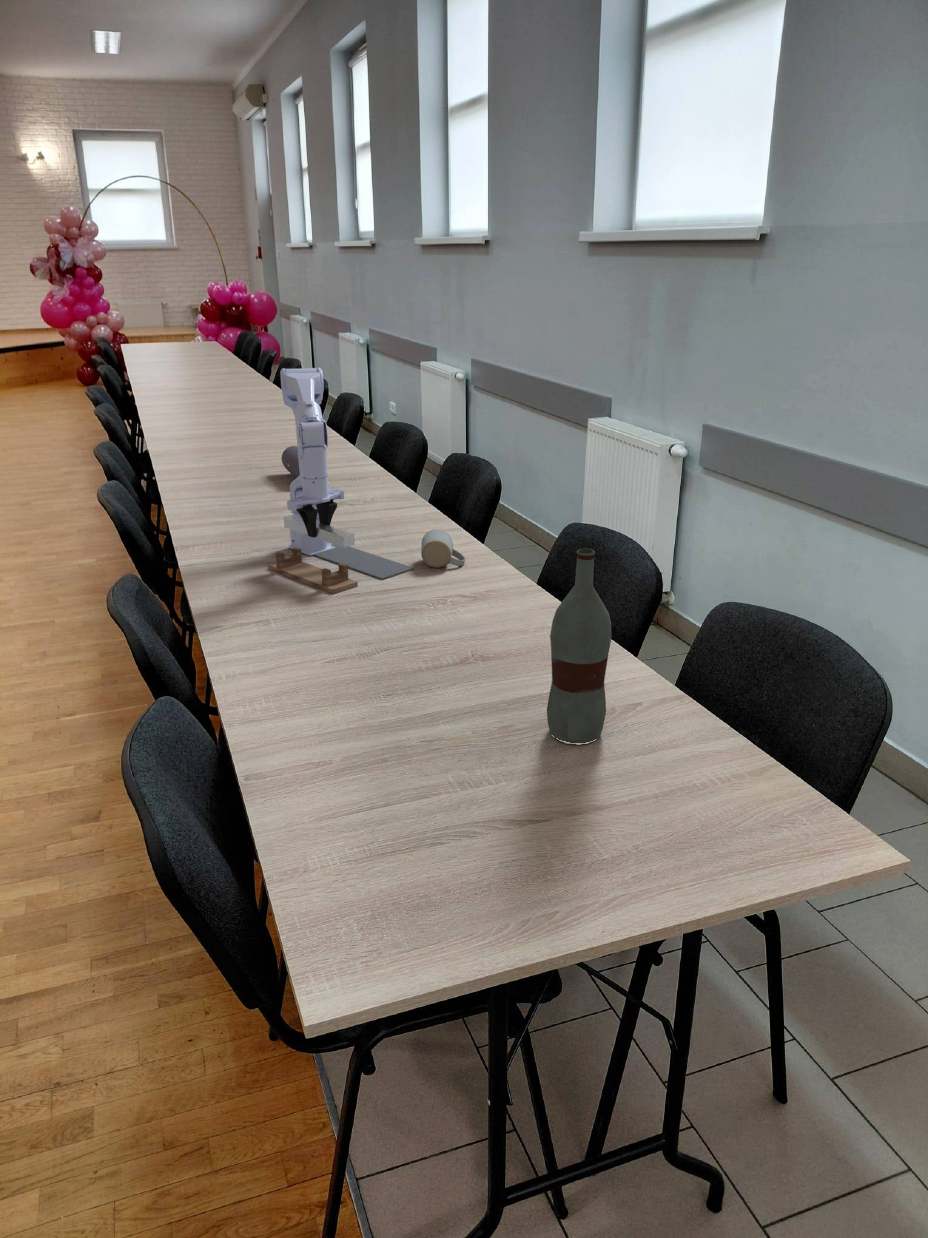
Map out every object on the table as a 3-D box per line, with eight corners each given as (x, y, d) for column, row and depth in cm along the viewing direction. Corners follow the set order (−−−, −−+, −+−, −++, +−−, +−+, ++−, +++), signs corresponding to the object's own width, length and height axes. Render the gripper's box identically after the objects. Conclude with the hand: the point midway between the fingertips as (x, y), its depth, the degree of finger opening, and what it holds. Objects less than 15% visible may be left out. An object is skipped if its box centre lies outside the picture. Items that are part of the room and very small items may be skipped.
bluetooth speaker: (280, 475, 299) (278, 445, 295) (307, 472, 303) (306, 442, 299) (298, 490, 280) (296, 459, 276) (327, 487, 284) (326, 456, 280)
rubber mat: (306, 553, 223) (306, 551, 223) (337, 544, 230) (337, 542, 230) (382, 579, 205) (382, 578, 205) (413, 569, 212) (413, 567, 212)
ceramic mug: (420, 569, 212) (421, 538, 209) (421, 558, 220) (421, 528, 217) (465, 570, 212) (466, 539, 210) (464, 559, 220) (465, 529, 217)
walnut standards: (268, 568, 212) (267, 550, 210) (292, 561, 217) (291, 544, 215) (333, 593, 197) (332, 574, 195) (357, 585, 202) (356, 567, 200)
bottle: (567, 712, 147) (576, 537, 136) (615, 730, 142) (630, 549, 130) (534, 734, 141) (541, 552, 129) (583, 754, 135) (595, 565, 124)
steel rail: (284, 527, 211) (283, 516, 210) (294, 524, 213) (294, 514, 212) (344, 547, 197) (343, 536, 196) (354, 544, 199) (354, 533, 198)
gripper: (299, 485, 192) (303, 545, 198) (351, 473, 202) (354, 531, 207) (279, 479, 197) (284, 538, 202) (331, 468, 207) (334, 525, 212)
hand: (318, 534), depth 205 cm, fingers closed on steel rail, 3 cm apart
